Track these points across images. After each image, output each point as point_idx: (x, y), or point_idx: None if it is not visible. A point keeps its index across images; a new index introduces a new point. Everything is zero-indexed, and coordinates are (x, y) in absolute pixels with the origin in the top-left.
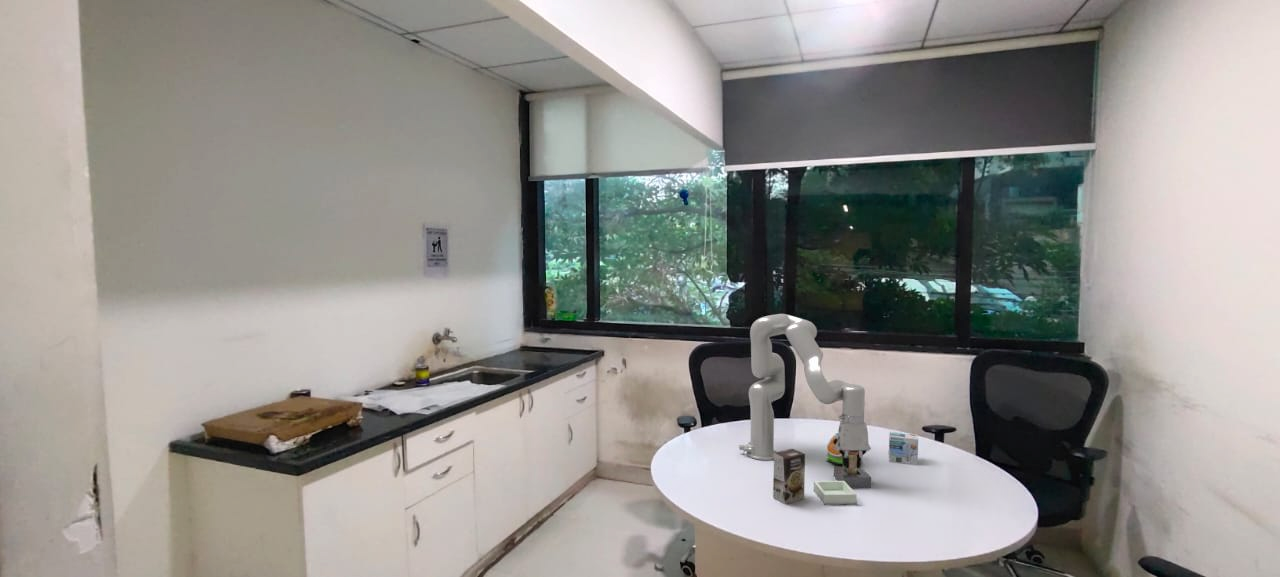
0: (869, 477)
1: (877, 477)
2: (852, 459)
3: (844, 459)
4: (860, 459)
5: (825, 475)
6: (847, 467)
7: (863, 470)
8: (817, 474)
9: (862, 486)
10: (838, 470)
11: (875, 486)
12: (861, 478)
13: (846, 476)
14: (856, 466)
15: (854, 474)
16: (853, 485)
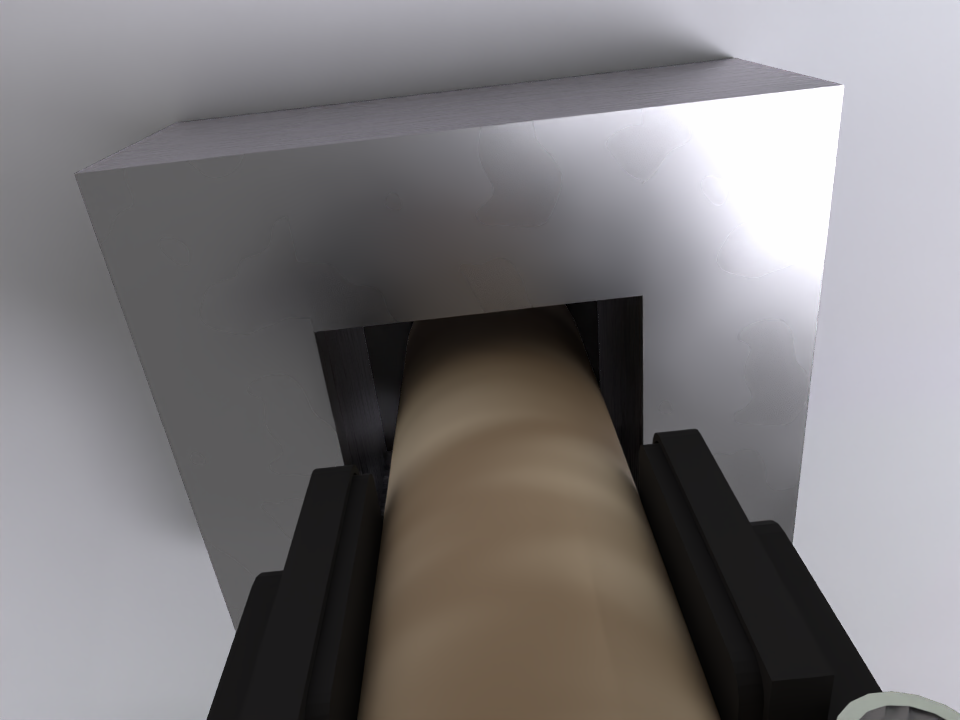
0: (129, 168)
1: (20, 552)
2: (584, 638)
3: (850, 656)
4: (233, 711)
5: (814, 545)
6: (682, 438)
7: (220, 538)
8: (919, 564)
9: (347, 108)
10: (771, 492)
11: (82, 208)
12: (352, 139)
13: (740, 169)
14: (406, 498)
15: (466, 357)
16: (543, 87)
